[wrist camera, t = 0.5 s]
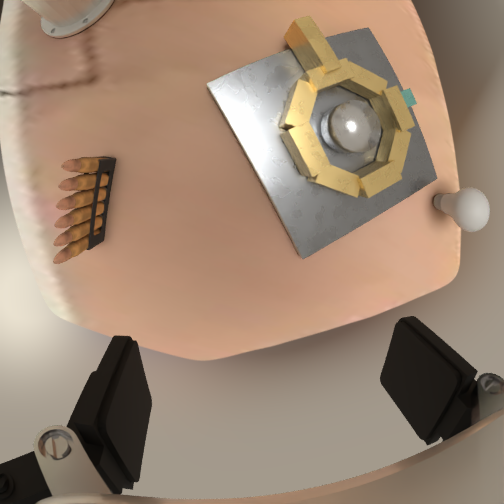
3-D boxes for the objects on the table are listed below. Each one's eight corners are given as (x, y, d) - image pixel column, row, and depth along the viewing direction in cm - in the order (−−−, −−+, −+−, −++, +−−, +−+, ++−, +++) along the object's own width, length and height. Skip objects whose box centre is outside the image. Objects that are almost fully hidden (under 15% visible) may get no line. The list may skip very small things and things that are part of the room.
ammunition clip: (103, 241, 34) (61, 274, 22) (91, 238, 33) (46, 269, 22) (116, 158, 31) (72, 156, 20) (103, 156, 31) (55, 154, 19)
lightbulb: (437, 173, 37) (488, 180, 26) (452, 202, 38) (500, 215, 28) (416, 198, 37) (468, 212, 27) (433, 227, 39) (481, 245, 29)
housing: (207, 88, 30) (205, 72, 24) (368, 31, 29) (388, 16, 23) (298, 254, 37) (313, 270, 32) (433, 174, 37) (460, 177, 31)
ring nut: (233, 56, 27) (237, 38, 22) (339, 21, 27) (355, 6, 22) (319, 213, 34) (335, 220, 29) (410, 162, 33) (434, 163, 28)
